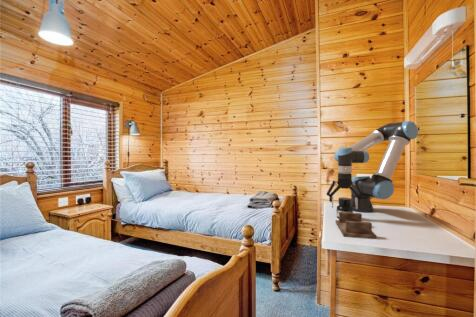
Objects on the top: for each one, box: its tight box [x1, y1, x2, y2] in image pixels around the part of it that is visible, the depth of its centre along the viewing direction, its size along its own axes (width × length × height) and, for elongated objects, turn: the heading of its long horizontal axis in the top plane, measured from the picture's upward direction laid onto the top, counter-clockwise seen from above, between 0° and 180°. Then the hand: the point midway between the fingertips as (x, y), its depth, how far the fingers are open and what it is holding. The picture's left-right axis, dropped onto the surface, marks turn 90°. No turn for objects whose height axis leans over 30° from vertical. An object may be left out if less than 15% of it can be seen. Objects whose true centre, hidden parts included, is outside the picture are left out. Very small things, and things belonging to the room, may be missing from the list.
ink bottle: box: [336, 196, 354, 219], centre depth 142 cm, size 10×9×12 cm
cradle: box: [335, 212, 377, 240], centre depth 120 cm, size 14×22×6 cm, turn 167°
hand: (344, 208), depth 142 cm, fingers open, 13 cm apart
